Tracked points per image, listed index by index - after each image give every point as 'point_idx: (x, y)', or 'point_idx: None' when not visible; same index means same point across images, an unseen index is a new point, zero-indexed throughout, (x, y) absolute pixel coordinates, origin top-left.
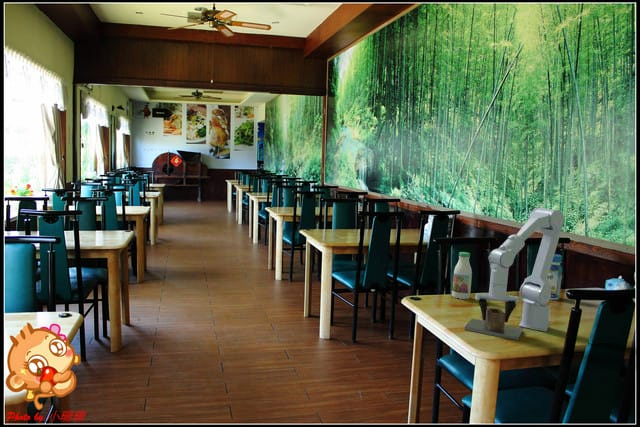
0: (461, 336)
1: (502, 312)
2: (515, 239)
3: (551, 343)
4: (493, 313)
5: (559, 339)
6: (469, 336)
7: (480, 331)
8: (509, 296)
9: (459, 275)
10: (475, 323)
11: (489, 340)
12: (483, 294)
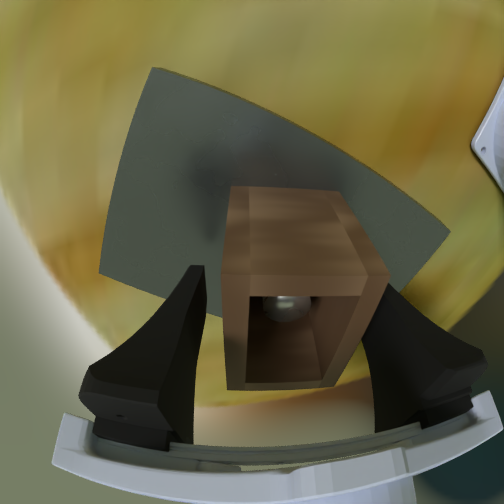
0: (107, 331)
1: (335, 366)
2: None
3: (440, 324)
4: (245, 389)
5: (492, 282)
6: (134, 329)
7: None
8: (432, 467)
9: None
10: (159, 199)
11: (211, 352)
12: (137, 493)
